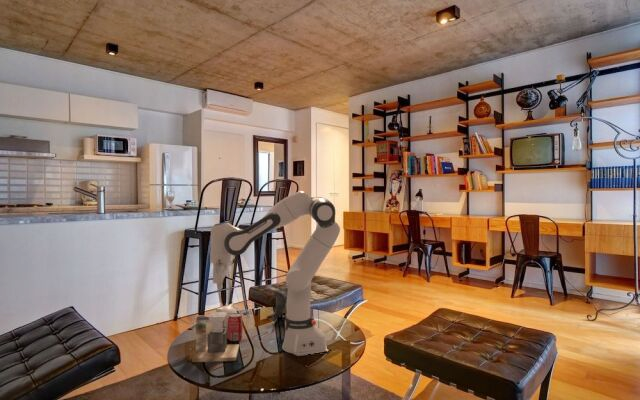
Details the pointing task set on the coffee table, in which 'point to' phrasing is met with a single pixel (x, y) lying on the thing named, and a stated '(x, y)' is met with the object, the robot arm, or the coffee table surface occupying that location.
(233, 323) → the soda can
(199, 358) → the stand
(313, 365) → the coffee table surface
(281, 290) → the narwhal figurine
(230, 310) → the cat head
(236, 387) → the coffee table surface
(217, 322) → the boxy square bracket
